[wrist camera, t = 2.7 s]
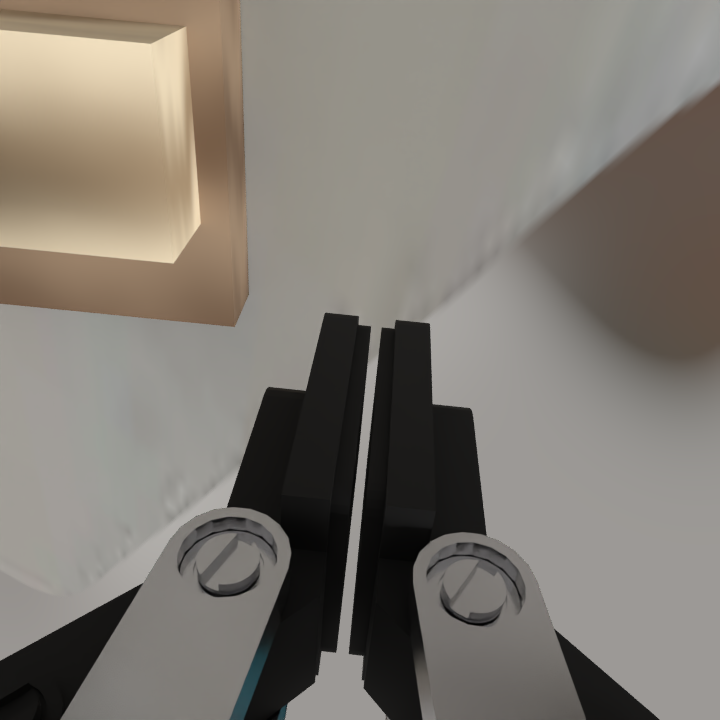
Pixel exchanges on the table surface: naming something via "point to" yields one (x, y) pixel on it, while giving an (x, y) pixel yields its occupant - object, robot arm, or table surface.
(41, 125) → the maple tile
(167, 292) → the plate
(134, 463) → the table surface
